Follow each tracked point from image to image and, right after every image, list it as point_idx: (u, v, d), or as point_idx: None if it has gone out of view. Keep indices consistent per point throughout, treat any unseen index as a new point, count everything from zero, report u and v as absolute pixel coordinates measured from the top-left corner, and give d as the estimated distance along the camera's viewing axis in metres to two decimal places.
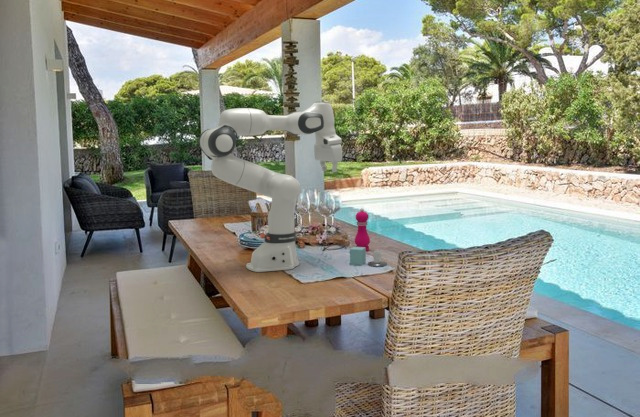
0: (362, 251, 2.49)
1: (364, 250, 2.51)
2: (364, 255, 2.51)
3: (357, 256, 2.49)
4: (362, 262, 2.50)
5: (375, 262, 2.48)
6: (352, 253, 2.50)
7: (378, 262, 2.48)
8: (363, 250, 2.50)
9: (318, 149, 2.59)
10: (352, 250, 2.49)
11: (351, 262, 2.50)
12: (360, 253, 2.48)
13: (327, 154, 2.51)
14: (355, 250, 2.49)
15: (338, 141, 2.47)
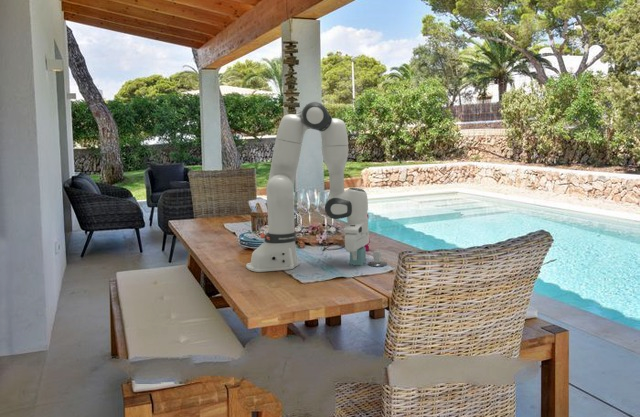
0: (362, 251, 2.49)
1: (364, 250, 2.51)
2: (364, 255, 2.51)
3: None
4: (362, 262, 2.50)
5: (375, 262, 2.48)
6: None
7: (378, 262, 2.48)
8: (363, 250, 2.50)
9: None
10: None
11: (351, 262, 2.50)
12: (360, 253, 2.48)
13: None
14: None
15: (353, 231, 2.41)
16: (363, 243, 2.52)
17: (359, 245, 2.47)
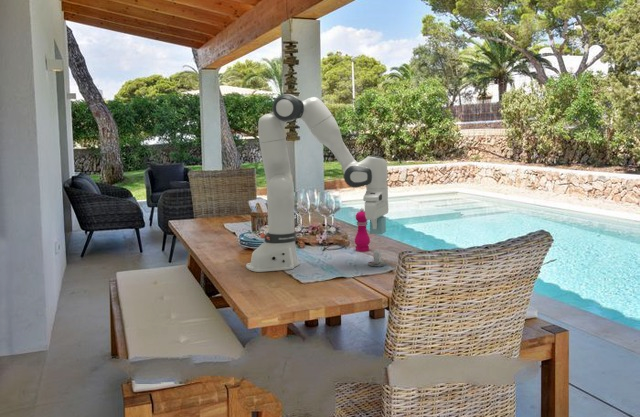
0: (382, 220, 2.44)
1: (384, 219, 2.47)
2: (384, 224, 2.47)
3: None
4: (382, 231, 2.45)
5: (375, 262, 2.48)
6: None
7: (378, 262, 2.48)
8: (383, 219, 2.45)
9: None
10: None
11: (371, 231, 2.46)
12: (380, 222, 2.43)
13: None
14: None
15: (373, 199, 2.37)
16: (383, 212, 2.47)
17: (379, 213, 2.42)
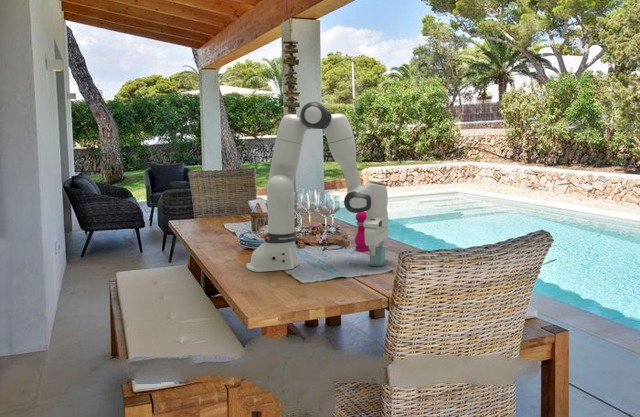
0: (382, 251, 2.46)
1: (384, 250, 2.48)
2: (384, 255, 2.49)
3: (376, 255, 2.46)
4: (382, 261, 2.47)
5: None
6: None
7: None
8: (383, 250, 2.47)
9: None
10: None
11: (370, 262, 2.48)
12: (380, 253, 2.45)
13: None
14: None
15: (373, 225, 2.38)
16: (382, 238, 2.49)
17: (378, 239, 2.44)
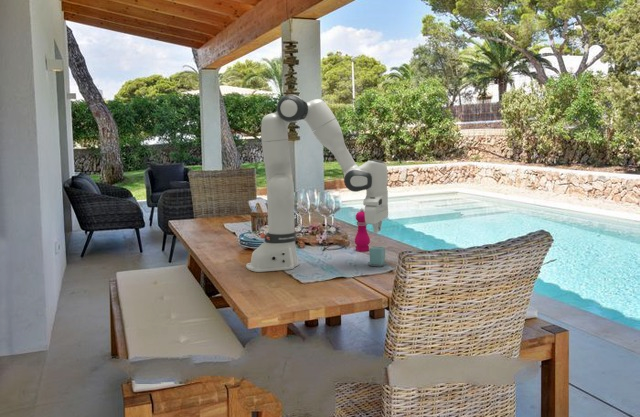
0: (382, 251, 2.46)
1: (384, 250, 2.48)
2: (384, 255, 2.49)
3: (376, 255, 2.46)
4: (382, 261, 2.47)
5: None
6: (372, 253, 2.47)
7: None
8: (383, 250, 2.47)
9: None
10: (372, 250, 2.47)
11: (370, 262, 2.48)
12: (380, 253, 2.45)
13: None
14: (375, 250, 2.46)
15: (373, 203, 2.37)
16: (382, 216, 2.48)
17: (378, 217, 2.43)
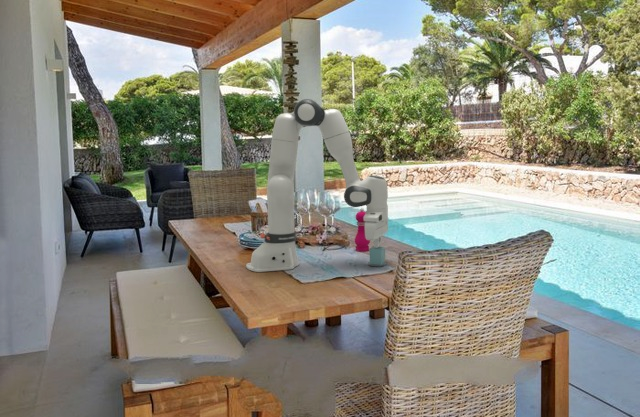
0: (382, 251, 2.46)
1: (384, 250, 2.48)
2: (384, 255, 2.49)
3: (376, 255, 2.46)
4: (382, 261, 2.47)
5: None
6: (372, 253, 2.47)
7: None
8: (383, 250, 2.47)
9: None
10: (372, 250, 2.47)
11: (370, 262, 2.48)
12: (380, 253, 2.45)
13: None
14: (375, 250, 2.46)
15: (373, 219, 2.38)
16: (382, 232, 2.49)
17: (378, 233, 2.44)
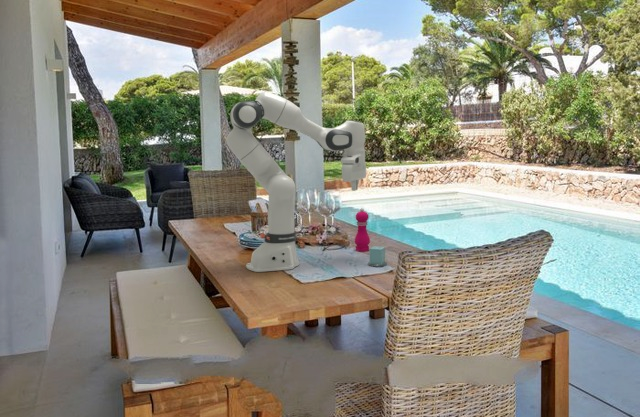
0: (382, 251, 2.46)
1: (384, 250, 2.48)
2: (384, 255, 2.49)
3: (376, 255, 2.46)
4: (382, 261, 2.47)
5: None
6: (372, 253, 2.47)
7: None
8: (383, 250, 2.47)
9: None
10: (372, 250, 2.47)
11: (370, 262, 2.48)
12: (380, 253, 2.45)
13: None
14: (375, 250, 2.46)
15: (350, 161, 2.46)
16: (360, 176, 2.56)
17: (355, 176, 2.51)
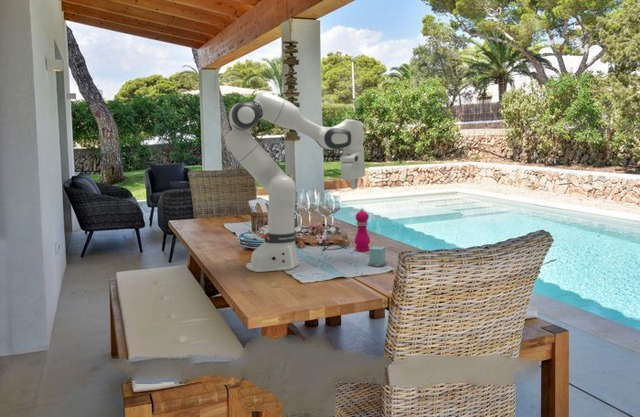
0: (382, 251, 2.46)
1: (384, 250, 2.48)
2: (384, 255, 2.49)
3: (376, 255, 2.46)
4: (382, 261, 2.47)
5: None
6: (372, 253, 2.47)
7: None
8: (383, 250, 2.47)
9: None
10: (372, 250, 2.47)
11: (370, 262, 2.48)
12: (380, 253, 2.45)
13: None
14: (375, 250, 2.46)
15: (349, 160, 2.46)
16: (359, 174, 2.56)
17: (355, 174, 2.51)
